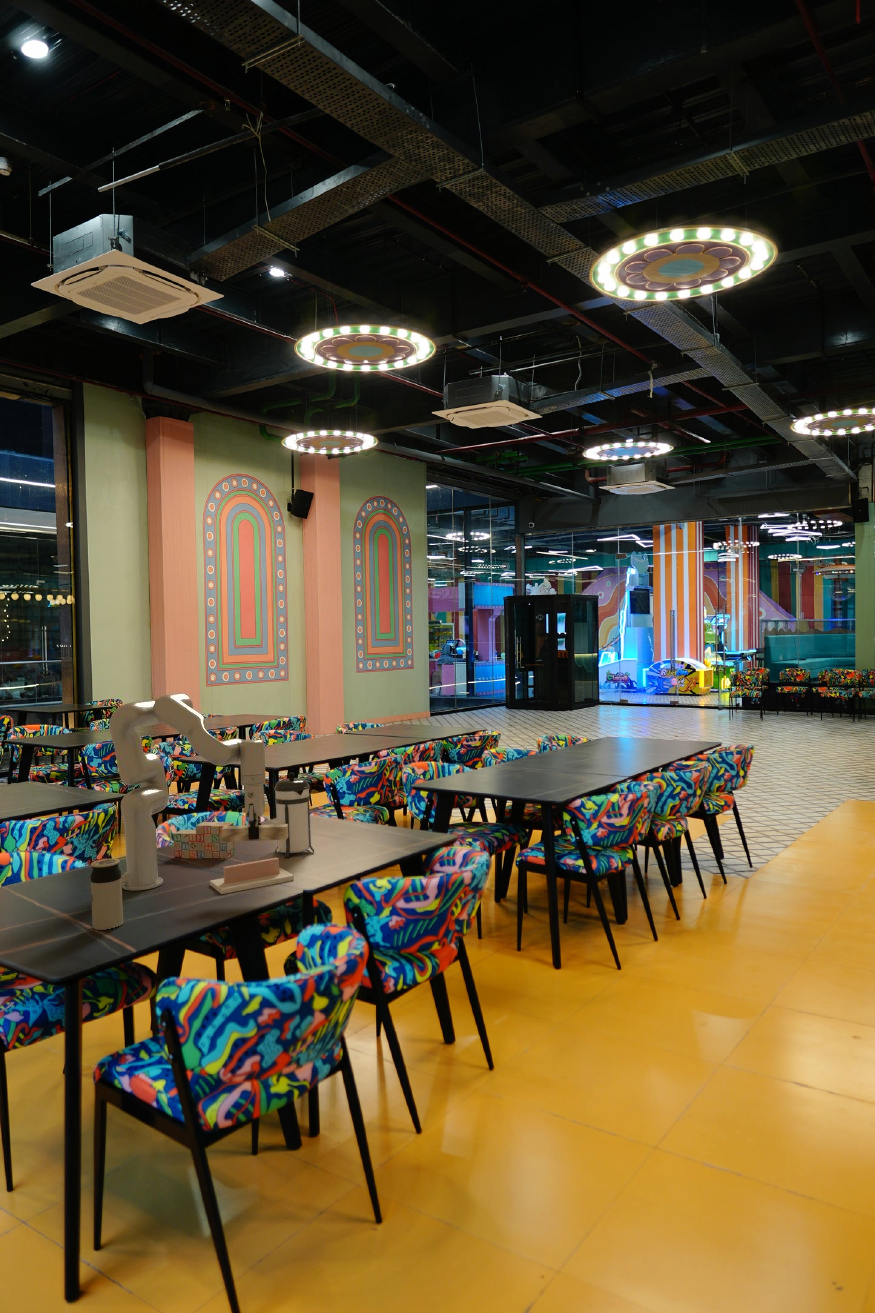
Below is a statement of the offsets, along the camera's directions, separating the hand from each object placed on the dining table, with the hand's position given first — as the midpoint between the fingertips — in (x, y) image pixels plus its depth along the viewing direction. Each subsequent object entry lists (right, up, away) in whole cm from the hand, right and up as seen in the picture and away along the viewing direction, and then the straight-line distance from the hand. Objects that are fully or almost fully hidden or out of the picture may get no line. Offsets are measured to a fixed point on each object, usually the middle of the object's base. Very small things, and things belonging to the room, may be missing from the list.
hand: (255, 836), depth 261 cm
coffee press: (+4, -16, +46) cm, 49 cm away
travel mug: (-35, -19, -28) cm, 49 cm away
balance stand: (-3, -17, +9) cm, 19 cm away
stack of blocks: (-29, -17, +45) cm, 56 cm away
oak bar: (0, -1, 0) cm, 1 cm away
